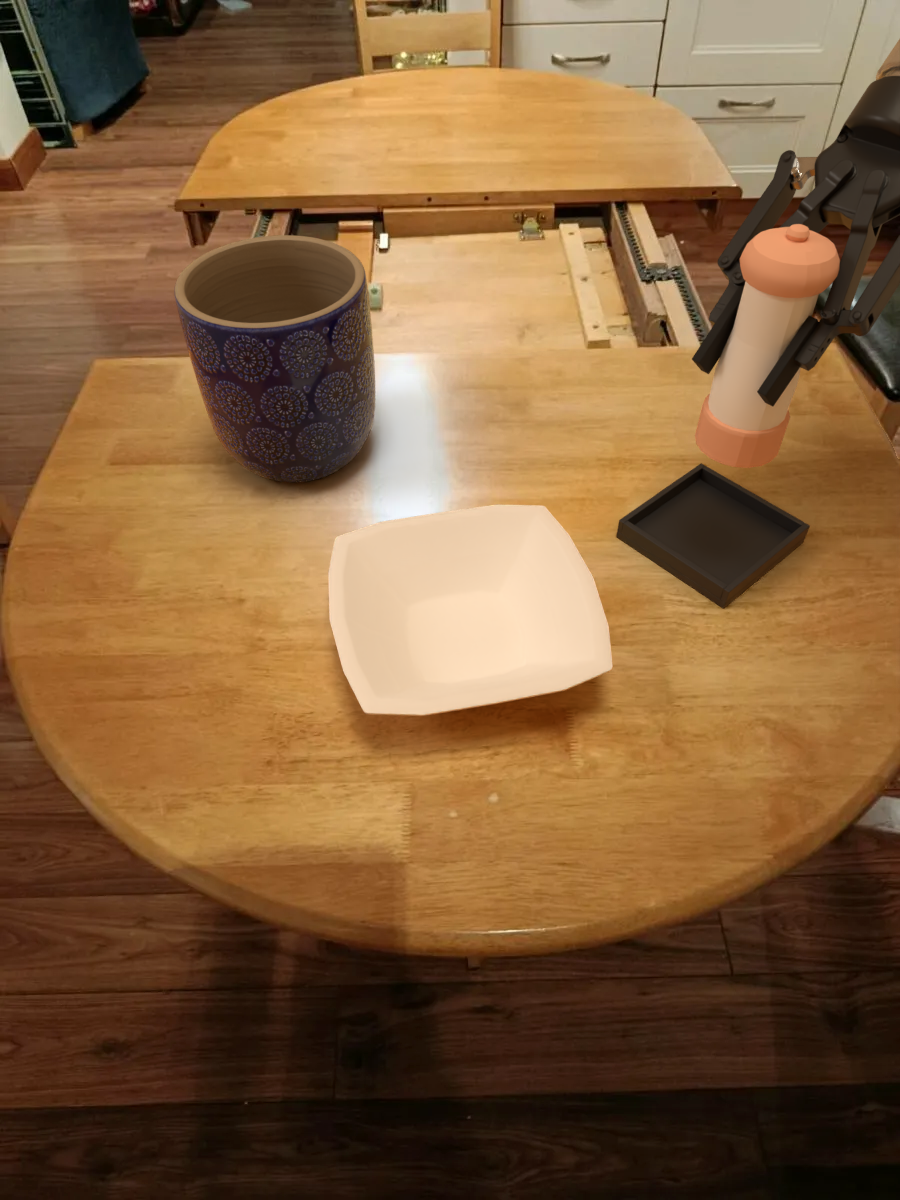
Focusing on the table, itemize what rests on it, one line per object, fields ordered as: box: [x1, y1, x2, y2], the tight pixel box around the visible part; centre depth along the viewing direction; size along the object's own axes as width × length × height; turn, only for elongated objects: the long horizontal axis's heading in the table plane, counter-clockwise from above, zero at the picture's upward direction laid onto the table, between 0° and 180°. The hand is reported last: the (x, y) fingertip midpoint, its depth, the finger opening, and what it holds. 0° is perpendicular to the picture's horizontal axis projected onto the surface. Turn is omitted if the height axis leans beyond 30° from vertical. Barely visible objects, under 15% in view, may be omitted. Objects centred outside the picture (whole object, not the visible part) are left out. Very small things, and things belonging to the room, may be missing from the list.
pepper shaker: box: [694, 224, 841, 469], centre depth 68 cm, size 7×7×19 cm
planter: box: [173, 234, 376, 483], centre depth 88 cm, size 18×18×21 cm
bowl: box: [327, 503, 614, 717], centre depth 75 cm, size 22×23×6 cm
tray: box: [615, 462, 811, 609], centre depth 85 cm, size 13×13×2 cm
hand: (732, 382), depth 67 cm, fingers closed on pepper shaker, 5 cm apart
